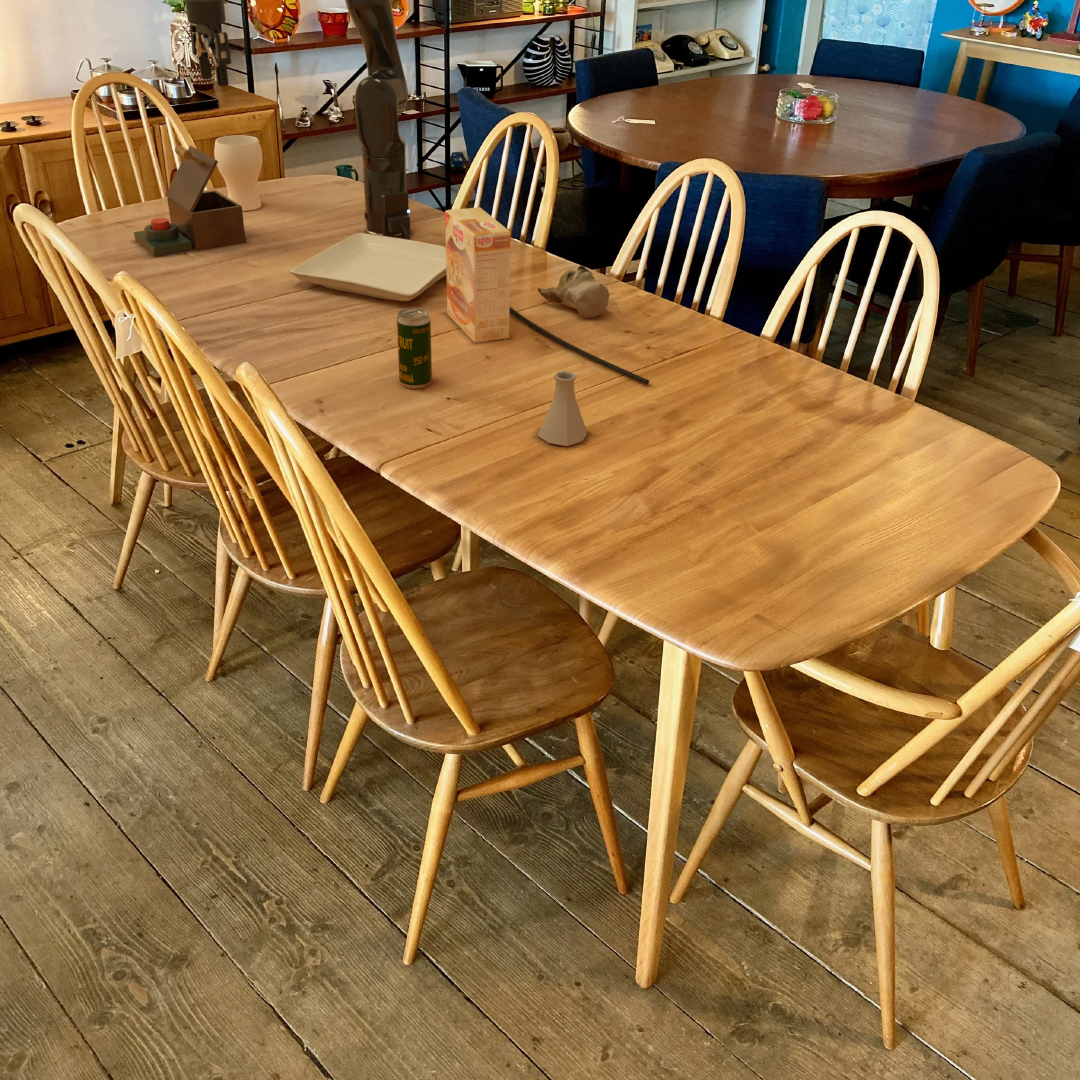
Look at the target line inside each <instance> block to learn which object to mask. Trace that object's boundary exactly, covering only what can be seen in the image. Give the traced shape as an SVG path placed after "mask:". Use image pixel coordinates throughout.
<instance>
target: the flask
mask: <svg viewBox="0 0 1080 1080" xmlns="http://www.w3.org/2000/svg"><path fill="white" fill-rule="evenodd" d="M577 376H578V375H577V374H576V373H574V372H573V371H569V370H560V371H556V372H555V373H554V375H553V379H554V380H555V387H554V392H553V397H552V400H551V403H550V405H549V408H548V411H547V413H546V414H545V417H544V420H543V421H542V424H541V426H540V429H539V431H538V433H537V437H539V438H540V439H542V440H544V441H545V442H547V443H548V444H553V445H557V446H565V447H570V446H572V445H575V444H578V443H582V442H583V441H584V440H585V438H586V436H587V435H588V430H587V428H586V424H585V422H584V419H583V416H582V413H581V410H580V408H579V405H578V401H577V399H576V392H575V381H576V379H577Z"/></svg>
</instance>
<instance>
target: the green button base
mask: <svg viewBox="0 0 1080 1080" xmlns="http://www.w3.org/2000/svg"><path fill="white" fill-rule="evenodd" d="M169 225H170V229H167V230H152V226H151V223H150V224H148V225H145V227H144V228H143V230H139V231H134V232H133V235H134V241H135V242H136V243H137V244H138V245H139V246H140V247H142V248H143V249H145V251H147V252H149V254H150V255H152V256H153V257H155V258H159V257H165V256H171V255H175V254H181V253H187V252H191V251H193V250H194V249H193V248H192V243H191V241H190V240H189V239H187V238H186V237H184V236H183V235H182V234H180V233H179V232H178V227H177V225H175V224H172V223H171V222H169Z"/></svg>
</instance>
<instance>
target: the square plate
mask: <svg viewBox="0 0 1080 1080" xmlns="http://www.w3.org/2000/svg"><path fill="white" fill-rule="evenodd" d="M289 273H290V274H291V275H293V276H294V277H295V278H297V279H298V280H299V281H302V282H306V283H308V284H309V283H310V284H314V285H320V286H323V287H324V288H326V289H329V290H336V291H340V292H346V293H350V294H356V295H361V296H366V297H372V298H375V299H376V298H377V299H381V300H386V301H398V302H399V301H400V302H409V301H412V300H414V299H415V298H418V296H420V295H421V294H423V292H425V291H426V290H427V289H429V288H430V287H431V286H433V285H434V284H435V283H437V282H438V281H440V280H441V279H443V278H444V277H446V276H447V273H446V246H445V245H444V246H443V245H439V244H434V243H428V242H423V241H417V240H411V239H410V240H406V238H405V239H404V238H401V237H396V238H393V237H386V236H379V235H371V234H367V233H366V232H365V233H364V232H357V233H354V234H352V235H350V236H348V237H346V238H344V239H342V240H341V241H338V242H337V243H335V244H333V245H331V246H329V247H326V248H325V249H324V250H323V249H322V251H320V252H318V253H316V254H315V255H313V256H311V257H310V258H307V259H306V260H304V261H303V262H301V263H299V264H298V265H296V266H294V267H293V268H291V269H290V270H289Z"/></svg>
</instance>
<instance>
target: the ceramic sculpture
mask: <svg viewBox="0 0 1080 1080" xmlns="http://www.w3.org/2000/svg"><path fill="white" fill-rule="evenodd" d="M537 291H538V293H539V294H540V296H542V297H543V298H544V299H545V300H546V301H548V302H550V303H553V304H562V305H564V306H566V307H568V308H570V309H573V310H576V311H577V312H578V314H579V315H580V317H582V318H590V319H591V318H593V319H594V318H596V317H598V316H599V315H601V314H603V313H604V312H605V310H607V307H608V305H609V301H610V292H609V289H608V287H607V286H606V284H604V283H601V282H598V281H597V280H596V277H594V274H593V273H592V271H591V270H589V268H586V266H584V265H580V266H578V267H577V269H576V268H575V269H569V270H567V271H565V272H564V273H563V274H562V275H561V277H560V279H559V281H558V284H557V286H556V287H553V286H552V287H548V288H540V287H539V288H537Z"/></svg>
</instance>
